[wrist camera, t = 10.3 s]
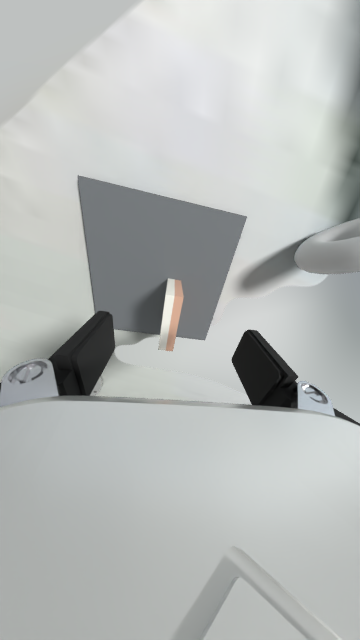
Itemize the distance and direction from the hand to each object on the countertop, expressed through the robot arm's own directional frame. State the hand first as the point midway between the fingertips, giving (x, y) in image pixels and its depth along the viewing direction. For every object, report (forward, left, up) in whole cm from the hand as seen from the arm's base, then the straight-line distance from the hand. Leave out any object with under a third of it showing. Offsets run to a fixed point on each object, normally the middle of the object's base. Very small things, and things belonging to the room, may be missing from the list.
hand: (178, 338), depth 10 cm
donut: (+9, -18, -14) cm, 25 cm away
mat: (0, +3, -14) cm, 14 cm away
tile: (-3, 0, -14) cm, 14 cm away
